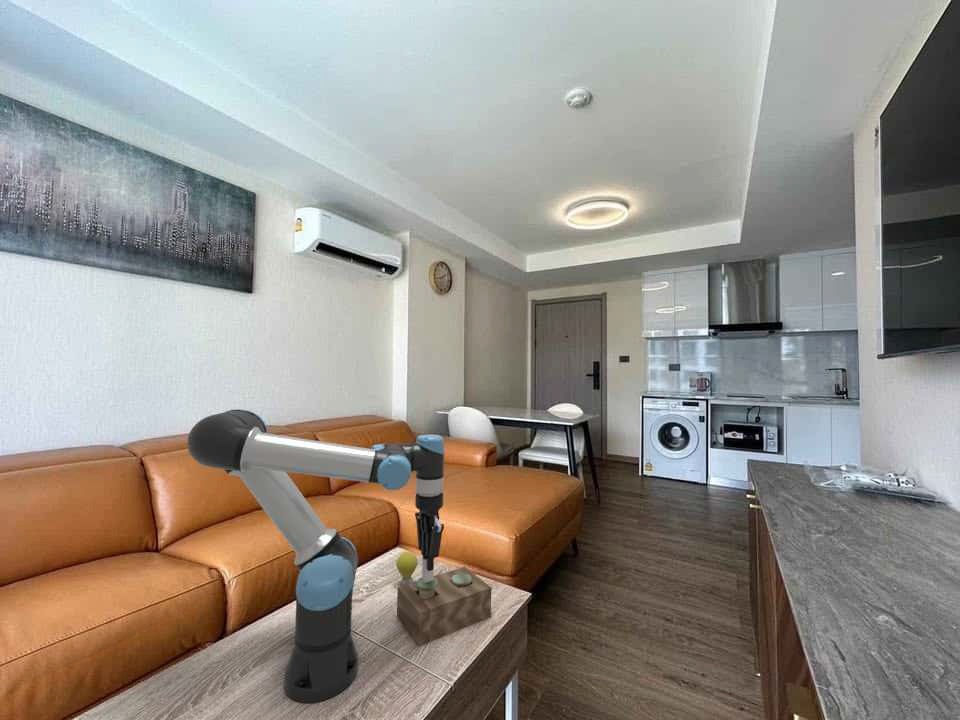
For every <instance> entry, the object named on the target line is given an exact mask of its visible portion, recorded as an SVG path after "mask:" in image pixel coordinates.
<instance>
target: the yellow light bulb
mask: <svg viewBox="0 0 960 720" xmlns="http://www.w3.org/2000/svg"><path fill="white" fill-rule="evenodd" d="M418 564H419V563H418V558H417V556H416V554H415V553H413V552H412V551H404V552H402V553H401V554H400V555H399V556H398V558H397V560H396V564H395V565H396V568H397V570H398V573H399V574H400V576H401V583H402V586H403V585H406V584H409V583H412V581H413V579H412V578H413V577H412V575H413V574H414V573H415V570H416V569H417V567H418Z"/></svg>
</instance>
